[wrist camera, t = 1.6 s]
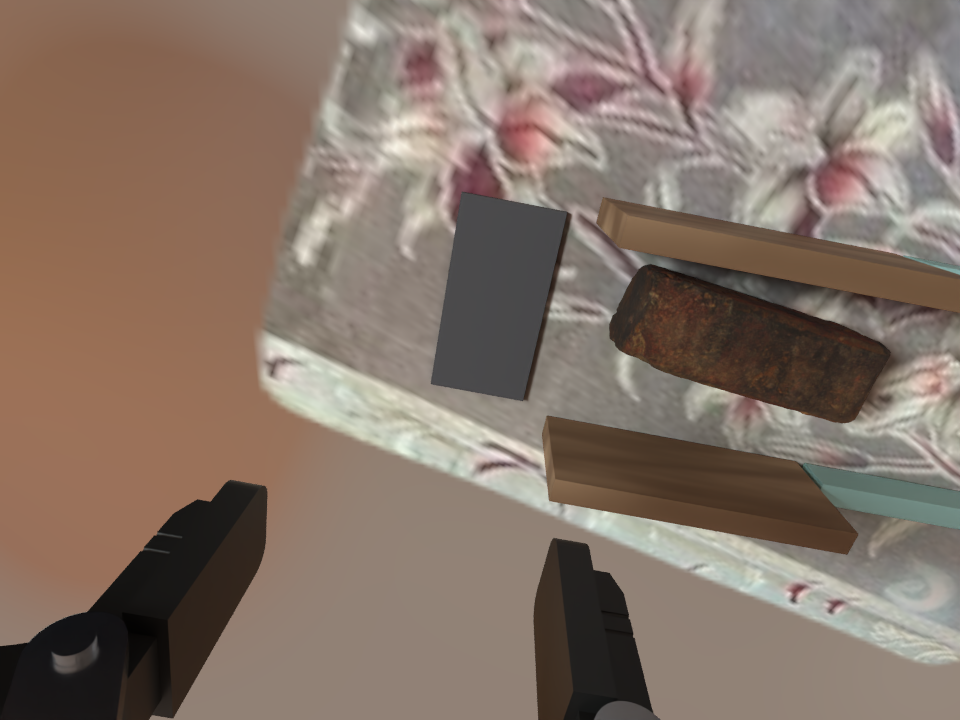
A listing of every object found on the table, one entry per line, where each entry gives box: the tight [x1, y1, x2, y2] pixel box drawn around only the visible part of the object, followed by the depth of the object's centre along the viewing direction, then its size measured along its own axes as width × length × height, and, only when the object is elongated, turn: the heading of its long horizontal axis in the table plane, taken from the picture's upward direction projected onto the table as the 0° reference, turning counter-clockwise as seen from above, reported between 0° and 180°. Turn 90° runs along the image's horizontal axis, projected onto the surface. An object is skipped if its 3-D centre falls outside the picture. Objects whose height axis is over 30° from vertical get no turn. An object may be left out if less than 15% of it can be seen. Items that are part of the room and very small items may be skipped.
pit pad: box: [431, 192, 567, 401], centre depth 28 cm, size 10×5×1 cm, turn 170°
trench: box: [542, 197, 960, 555], centre depth 26 cm, size 13×14×6 cm
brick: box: [609, 264, 890, 423], centre depth 25 cm, size 11×4×5 cm, turn 73°
